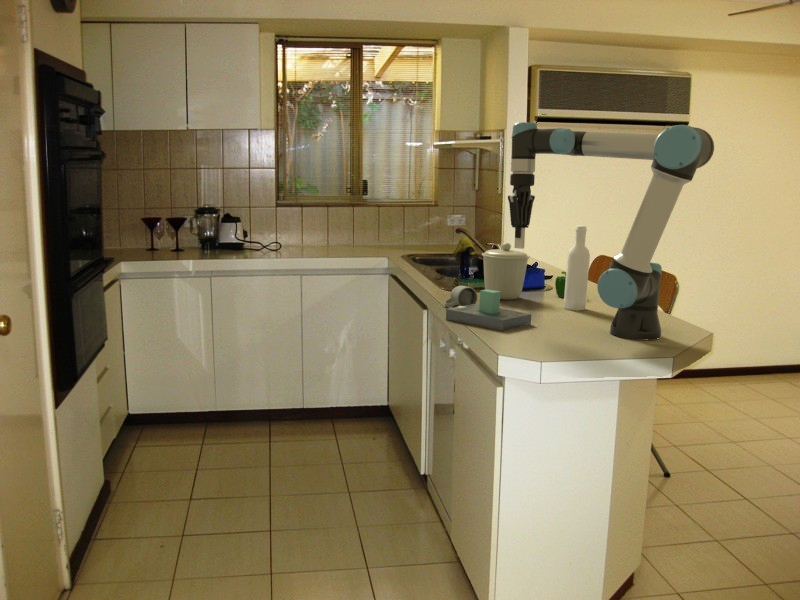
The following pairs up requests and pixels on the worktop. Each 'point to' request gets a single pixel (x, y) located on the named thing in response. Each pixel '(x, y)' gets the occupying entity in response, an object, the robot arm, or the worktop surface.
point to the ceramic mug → (461, 297)
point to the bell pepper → (560, 285)
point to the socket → (488, 317)
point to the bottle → (577, 272)
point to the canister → (505, 271)
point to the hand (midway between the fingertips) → (519, 248)
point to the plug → (489, 301)
